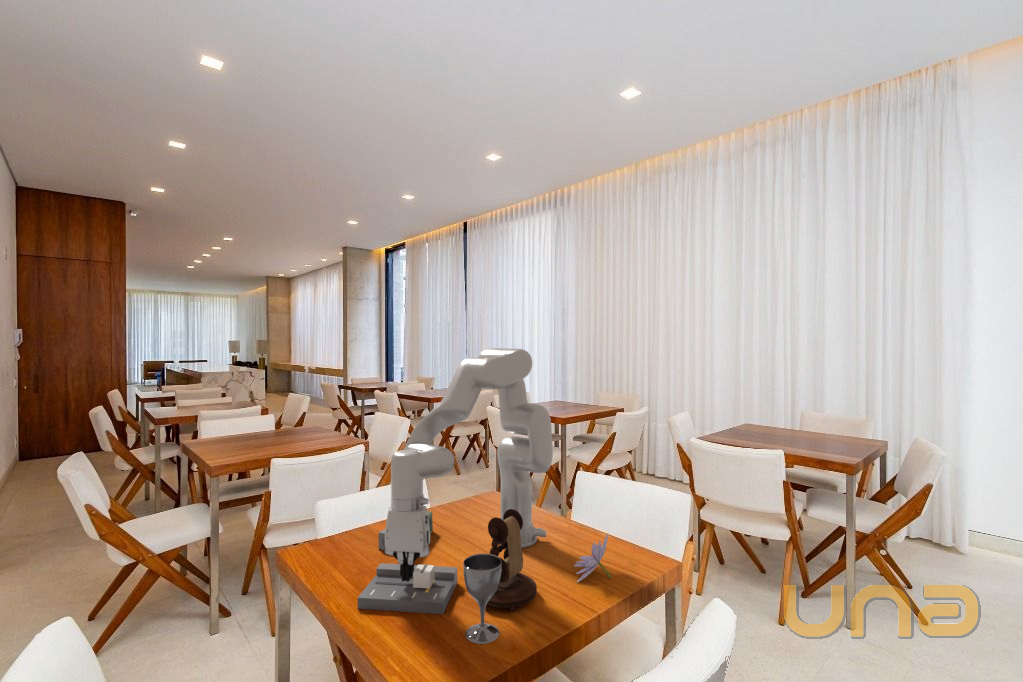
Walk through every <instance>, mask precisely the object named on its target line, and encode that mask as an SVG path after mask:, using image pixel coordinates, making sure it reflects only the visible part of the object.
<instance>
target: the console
mask: <svg viewBox="0 0 1023 682" xmlns="http://www.w3.org/2000/svg"><path fill="white" fill-rule="evenodd" d="M418 565H419V564H414V570H415V569H416V567H417V566H418ZM375 572H376V573H375V574H376V575H375V576H374V577H373V578H372V579H371V580H370V582H369V583H368V584H367V585H366V587H365V588H364V589H363V590H362V592H361V593H360V594H359V595H358V597H357V609H359V610H371V611H372V610H373V611H374V610H375V611H376V610H377V611H391V612H402V613H404V612H405V613H417V614H419V613H420V614H432V615H433V614H435V615H444V613H445V611H446V609H447V607H448V606H449V605H448V604H449V602H450V600H451V597H452V596H453V593H454V591H455V589H456V587H457V585H458V567H455V566H441V565H440V566H437V565H434V582H433V583H432V585H431V587H430V589H429V588H413V577H412V578H411V579H410V580H409V582H406V581H402V576H400V564H399V563H384V562H383V563H382V562H381V563H380V564H379V565H378V566H377V567H376V571H375Z"/></svg>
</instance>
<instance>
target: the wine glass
mask: <svg viewBox="0 0 1023 682" xmlns="http://www.w3.org/2000/svg"><path fill="white" fill-rule="evenodd" d="M499 557H500V556H496V555H493V554H490V553H483V552H482V553H474V554H471V555H469V556H466V557H465V558H464V559H463V569H462V570H463V578H464V584H465V588H466V590H467V593H468V594H469V595H470V596H471V598H472V599H474V600H475V602H476V603H477V605H478V608H479V614H480V623H475V624H473V625H471V626H470V627H468V628H467V629H466V631H465V633H464V634H465V635H464V636H465V638H466V639H467V640H468V641H469V642H471V643H473V644H476V645H477V644H478V645H486V644H490V643H494V642H495V641H496V640H498V638H499V637H500V630H499V628H498V627H497V626H496V625H494V624H491V623H486V622H485V616H486V607H487V606H488V605H487V603H488V601H489V600H490V599H491V598H492V597H493V595H494V594H495V593H496V592H497V590H498V587H499V584H500V579H501V559H500V558H501V557H500V558H499Z"/></svg>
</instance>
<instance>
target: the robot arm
mask: <svg viewBox="0 0 1023 682" xmlns="http://www.w3.org/2000/svg"><path fill="white" fill-rule="evenodd" d="M478 356H479V357H468V358H465V359H463V360H462V361H460V363H459V365H458V367H457V368H456V371H455V372H454V375H453V376H452V379H451V381H450V382H449V385H448V387H447V389H446V391H445V393H444V395H443V397H442V398H441V401H440V403H439V404H438V405H437V406H435V407H434V408H433V409H431V411H430V412H428V413H427V414H426V415H425V416H424V417H422V419H420V420H419V422H418V423H417V424H416V425H415V426H414V428H413V430H412V431H411V434H410V435H409V438H408V439H407V442H406V443H405V446H404V448H403V449H401V450H398V451H397V450H396V451H394V452H393V454H392V455H391V459H390V480H391V481H390V492H391V494H390V507H389V508H388V511H387V517H386V522H385V528H384V529H385V548H386V549H385V550H384V553H385V554H387V555H389V556H393V558H394V559H396V560H397V564H400V576H402V581H406V582H409V580H410V579H411V578H412V577H413V572H414V565H415V562H416V561H417V560H418V559H419V558H423V557H428V556H429V554H430V548H429V545H430V543H431V534H430V527H429V518H428V512H427V511H428V508H427V506H426V505H429V501H430V499H429V498H428V497H427V498H426V497H425V494H424V480H425V479H436V478H438V479H439V478H441V477H445V476H446V475H448V474H450V472H452V470H453V468H454V464H455V456H454V454H453V452H452V451H451V450H450V449H448V448H446V447H444V446H441V445H440V446H439V445H435V444H432V443H433V441H434V439H436V437H437V436H438V435H439V434H440V433H441V432H443V431H444V430H446V428H450V427H452V426H453V425H457V424H459V423H461V422H464V421H465V420H467V419H469V417H470V416H471V414H472V411H473V409H474V407H475V404H476V403H477V401H478V398H479V395H480V394H481V392H482V391H483V390H491V391H495V390H496V391H497V394H498V406H499V407H498V408H499V418H500V426H501V428H502V430H503V431H505V432H506V433H508V434H509V433H510V434H516V435H520V436H515V435H512V436H507V437H504V438H503V439H502V440H500V441H499V444H498V445H497V450H496V452H497V453H496V454H497V461H498V466H499V474H500V475H499V476H500V518H501V519H502V520H503V516H504V513H505V512H506V511H507V510H509V509H514V510H516V511H518V512H519V513H520V515H521V517H522V519H523V526H522V529H521V530H520V534H521V547H522V549H524V548H528V547H531V546H533V545H535V544H536V542H537V540H538V537H540V538H547V530H546V529H545V530H544V529H543V527H536V526H534V522H533V519H532V518H533V515H532V513H533V510H532V503H533V502H532V501H533V496H532V495H533V493H532V492H533V487H532V485H533V483H532V478H531V475H530V473H532V474H533V473H534V474H544V473H546V472H547V471H549V470H550V467H552V462H553V457H554V456H553V453H554V452H553V450H554V449H553V436H552V435H553V433H552V431H553V430H552V420H551V415H550V413H549V411H548V409H547V408H546V407H544V406H543V405H541V404H537V403H529V402H528V398H527V397H528V395H527V388H526V383H525V381H524V379H525V378H526V377H527V376H528V375H530V373H531V371H532V368H533V358H532V356H531V354H530V353H529V351H527V350H525V349H523V348H503V347H497V348H496V347H494V348H486V349H484V350H482V351H481V352H480V353H479V355H478ZM521 435H522V436H526V437H522V436H521ZM499 546H501V544H499ZM406 552H409V557H408V559H407V555H406Z"/></svg>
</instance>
